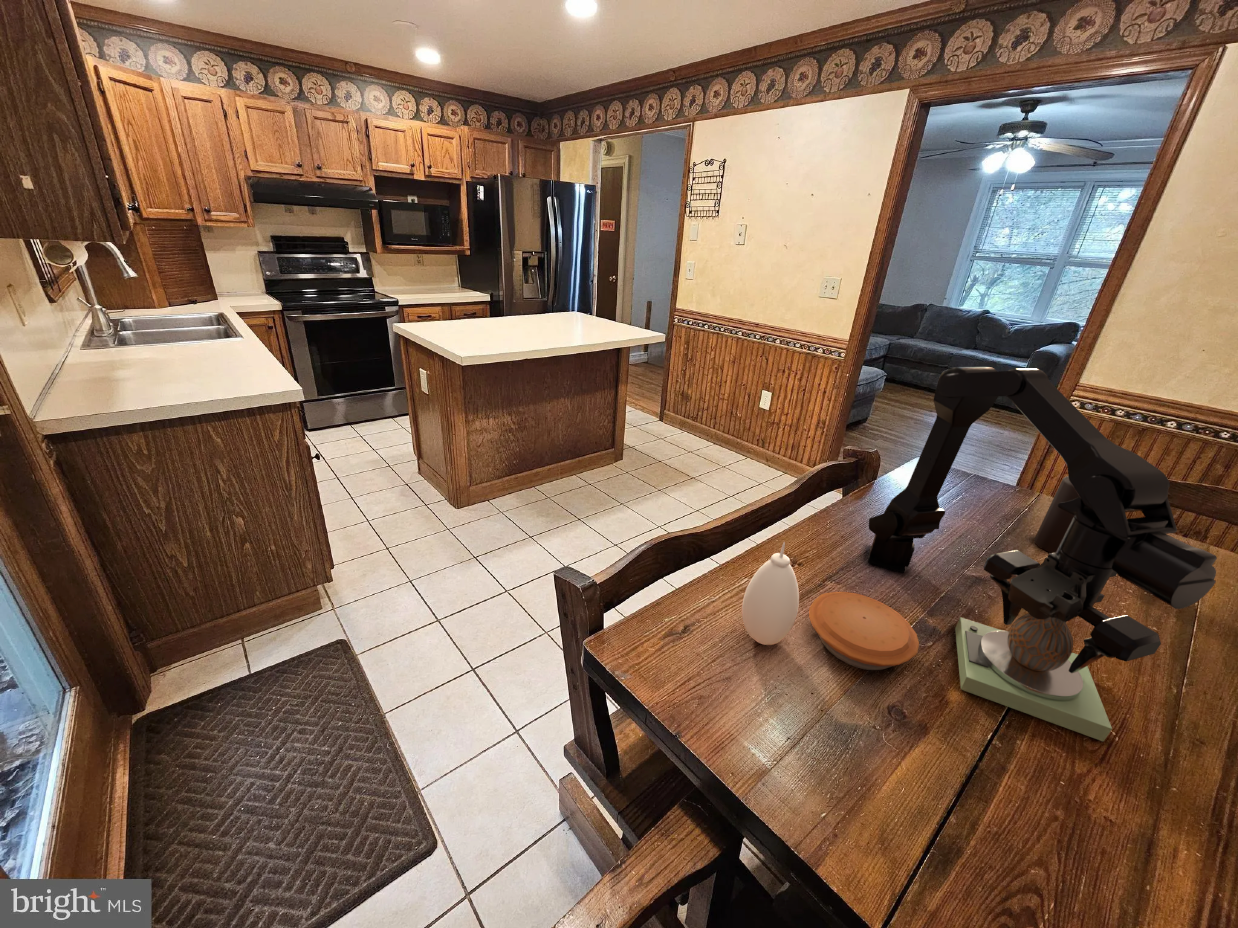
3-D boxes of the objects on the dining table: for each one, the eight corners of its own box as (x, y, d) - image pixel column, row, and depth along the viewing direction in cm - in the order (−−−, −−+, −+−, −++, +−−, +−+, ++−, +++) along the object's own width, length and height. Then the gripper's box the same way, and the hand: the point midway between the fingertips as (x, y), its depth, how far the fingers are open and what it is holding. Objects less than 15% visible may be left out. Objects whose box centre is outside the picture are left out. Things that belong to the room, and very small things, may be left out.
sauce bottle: (754, 614, 84) (774, 521, 77) (797, 640, 80) (823, 543, 72) (727, 637, 79) (745, 540, 72) (771, 666, 74) (796, 565, 67)
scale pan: (983, 676, 71) (985, 672, 71) (975, 624, 81) (977, 620, 81) (1091, 714, 66) (1094, 710, 66) (1069, 653, 76) (1071, 649, 76)
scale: (960, 689, 72) (967, 675, 71) (954, 628, 84) (960, 615, 83) (1103, 741, 66) (1113, 727, 65) (1076, 668, 77) (1084, 654, 76)
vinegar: (1070, 545, 109) (1114, 460, 100) (1075, 560, 104) (1122, 472, 95) (1032, 534, 112) (1071, 451, 103) (1034, 549, 107) (1076, 462, 98)
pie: (903, 623, 84) (912, 599, 82) (920, 696, 71) (931, 670, 69) (805, 598, 89) (811, 575, 86) (803, 663, 75) (811, 638, 73)
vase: (1070, 684, 70) (1099, 635, 66) (1014, 674, 71) (1040, 625, 67) (1043, 647, 76) (1068, 600, 72) (992, 638, 77) (1014, 592, 73)
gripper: (974, 524, 71) (938, 611, 78) (1127, 614, 55) (1066, 715, 62) (1032, 515, 74) (993, 600, 81) (1193, 598, 58) (1128, 695, 65)
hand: (1037, 646), depth 72 cm, fingers open, 9 cm apart
